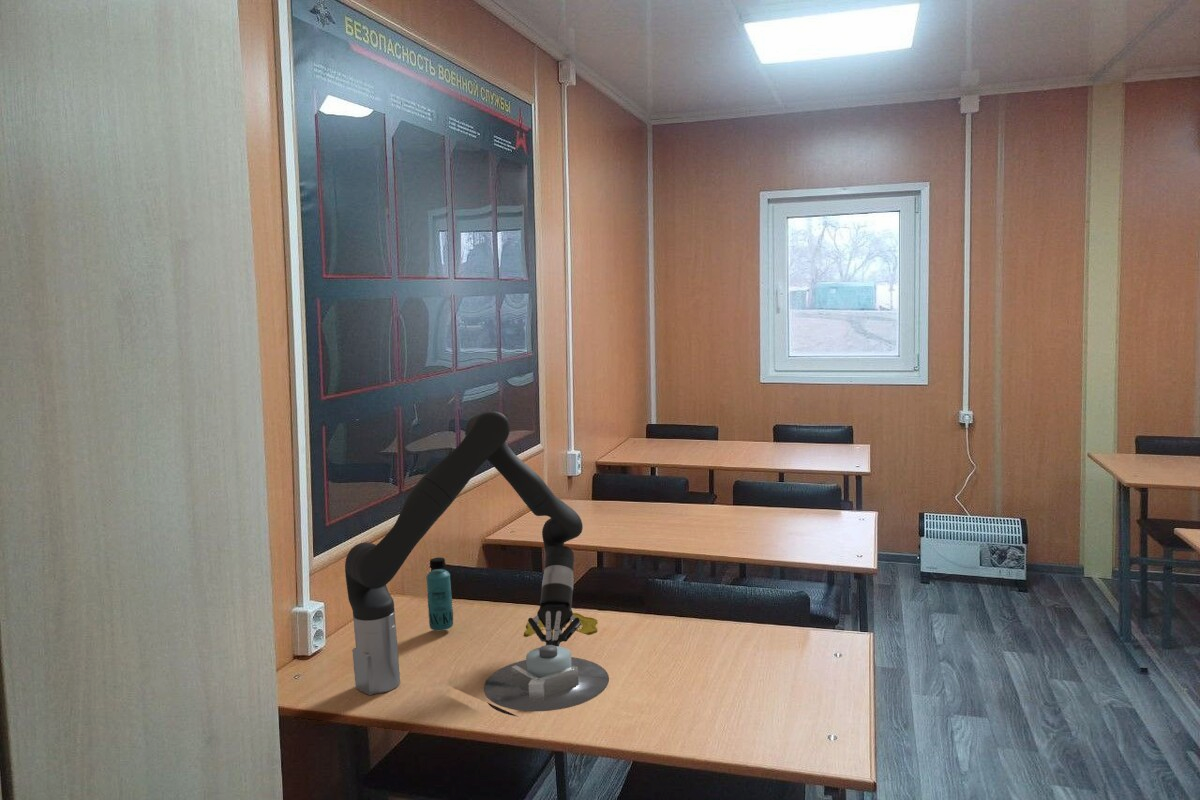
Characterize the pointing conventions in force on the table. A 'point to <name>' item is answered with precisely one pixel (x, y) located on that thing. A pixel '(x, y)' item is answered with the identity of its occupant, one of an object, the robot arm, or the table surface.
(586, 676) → the turntable
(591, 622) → the decorative medallion
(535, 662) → the cover
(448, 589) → the beverage bottle
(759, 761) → the table surface
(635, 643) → the table surface
